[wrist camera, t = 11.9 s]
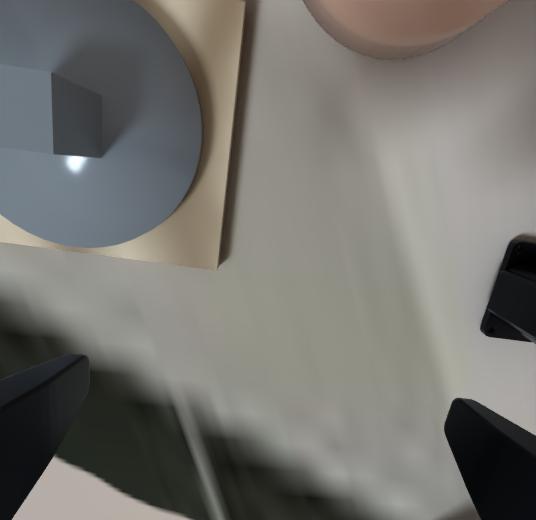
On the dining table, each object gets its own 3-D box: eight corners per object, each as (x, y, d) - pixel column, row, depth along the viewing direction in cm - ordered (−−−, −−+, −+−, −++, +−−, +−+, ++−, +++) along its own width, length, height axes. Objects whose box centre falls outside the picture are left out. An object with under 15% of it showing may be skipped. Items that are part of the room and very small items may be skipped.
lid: (215, 5, 16) (193, -66, 11) (193, 257, 19) (170, 286, 15) (-59, -41, 15) (-205, -137, 11) (-31, 228, 19) (-133, 247, 14)
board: (246, 10, 17) (245, 1, 16) (219, 265, 21) (217, 270, 20) (-73, -44, 16) (-94, -58, 15) (-43, 231, 20) (-58, 234, 19)
